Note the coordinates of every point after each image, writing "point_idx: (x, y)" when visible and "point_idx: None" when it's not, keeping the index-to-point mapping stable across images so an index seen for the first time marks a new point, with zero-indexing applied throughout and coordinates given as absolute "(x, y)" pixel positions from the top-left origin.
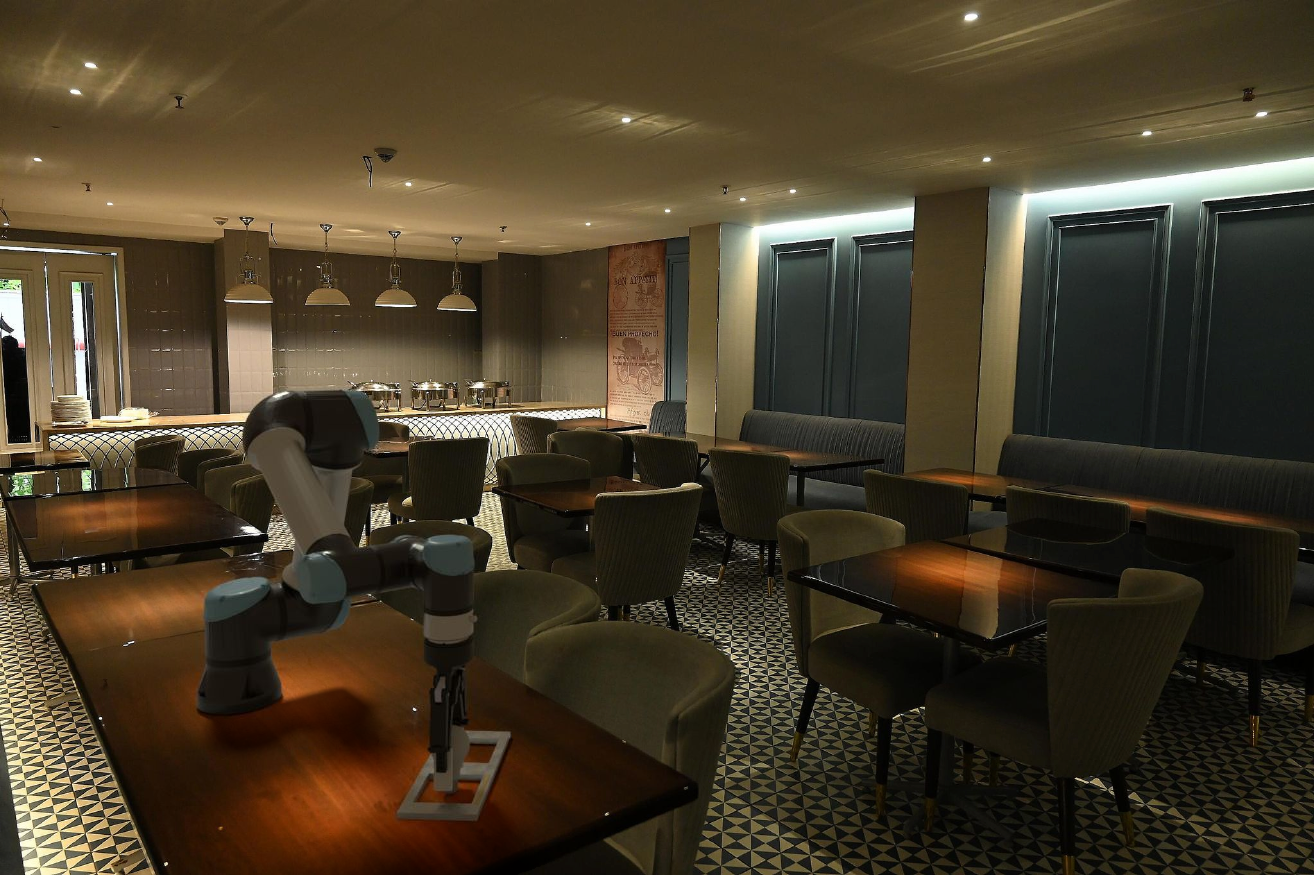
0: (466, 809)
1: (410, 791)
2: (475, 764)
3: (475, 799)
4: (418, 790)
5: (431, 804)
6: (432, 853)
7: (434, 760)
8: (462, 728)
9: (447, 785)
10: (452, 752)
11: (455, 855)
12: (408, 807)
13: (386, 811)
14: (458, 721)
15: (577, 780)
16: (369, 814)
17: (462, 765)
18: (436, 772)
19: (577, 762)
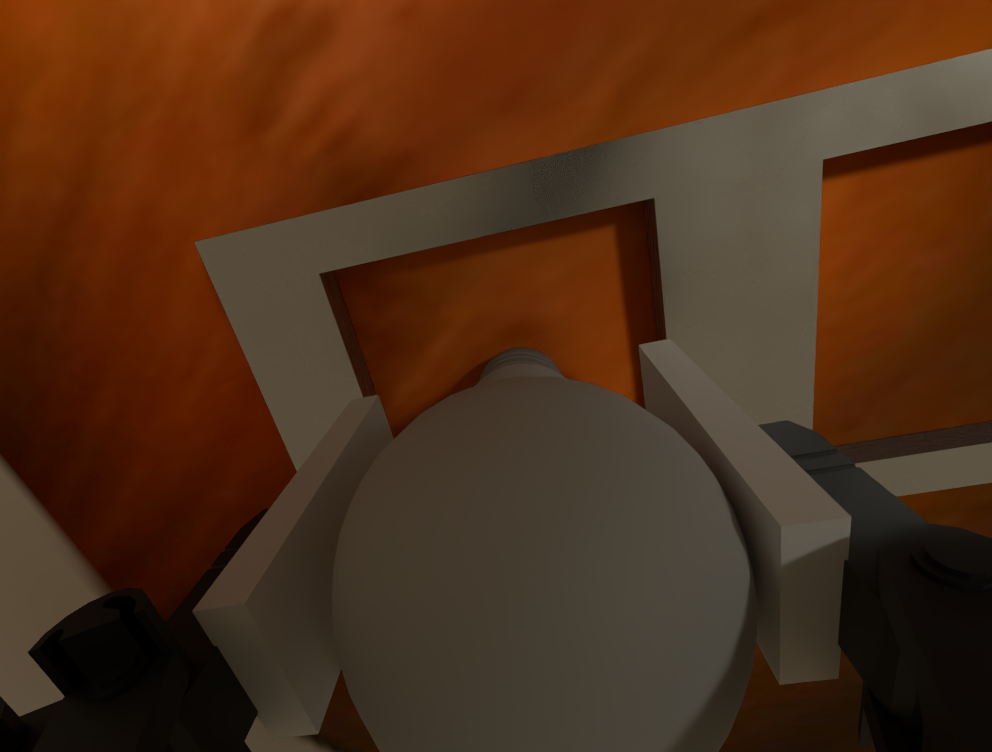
0: None
1: (417, 198)
2: (790, 415)
3: None
4: (441, 241)
5: (338, 377)
6: (98, 498)
7: (261, 529)
8: (795, 676)
9: None
10: (334, 687)
11: (134, 567)
12: (264, 279)
13: (250, 136)
14: (893, 708)
15: None
16: (179, 47)
17: None
18: (259, 513)
19: (858, 722)
